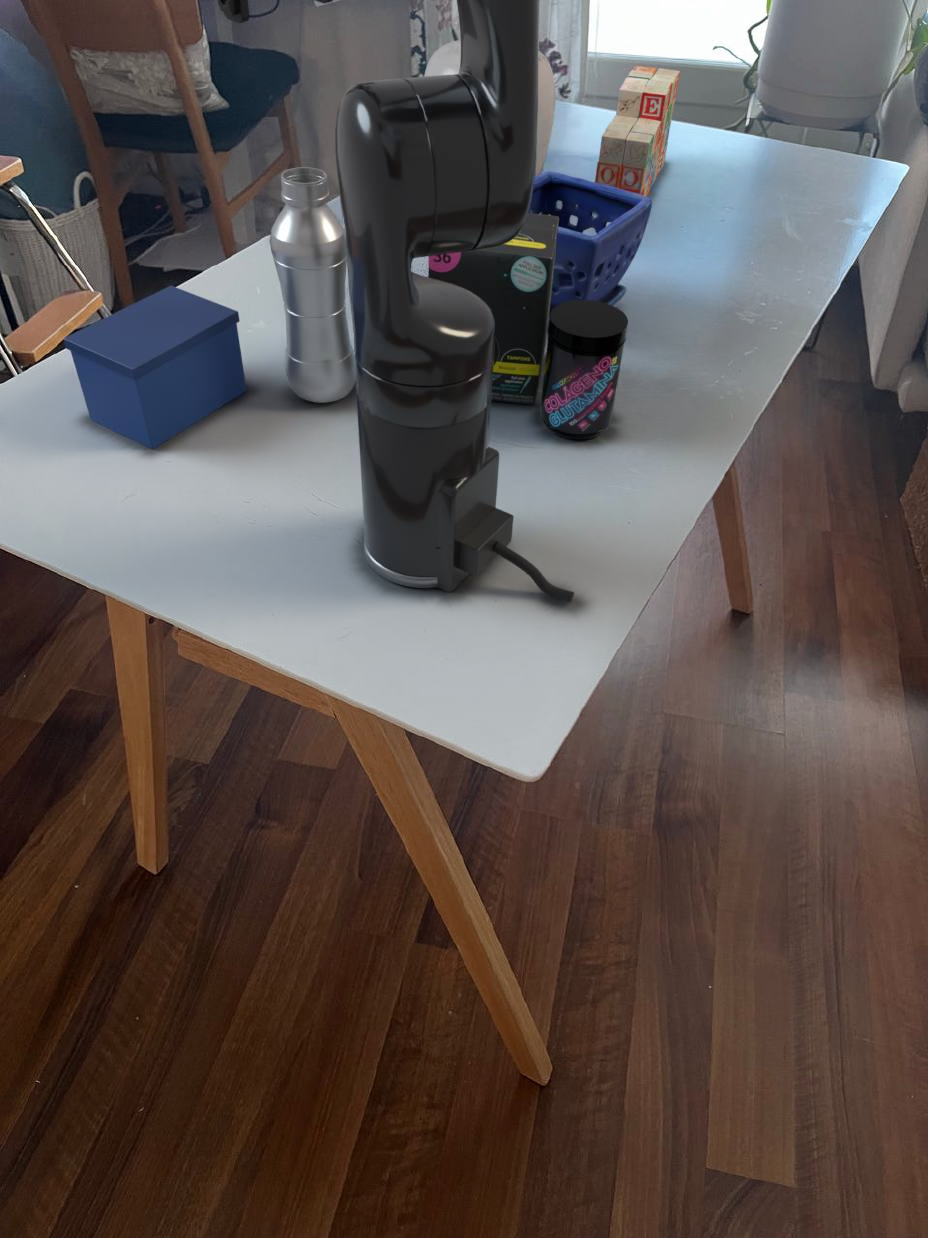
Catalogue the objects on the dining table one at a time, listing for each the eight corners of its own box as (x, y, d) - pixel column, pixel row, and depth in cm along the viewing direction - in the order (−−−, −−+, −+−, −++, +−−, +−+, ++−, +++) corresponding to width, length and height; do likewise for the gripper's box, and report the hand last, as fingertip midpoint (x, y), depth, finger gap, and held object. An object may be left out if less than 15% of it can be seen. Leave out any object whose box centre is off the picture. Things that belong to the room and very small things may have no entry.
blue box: (250, 390, 89) (238, 311, 83) (152, 451, 82) (132, 368, 76) (186, 363, 92) (171, 284, 86) (87, 419, 85) (62, 338, 79)
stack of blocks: (637, 218, 121) (654, 115, 112) (590, 211, 122) (603, 108, 114) (664, 163, 136) (681, 68, 127) (622, 157, 137) (635, 62, 128)
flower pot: (582, 354, 96) (598, 239, 88) (474, 317, 101) (479, 205, 92) (638, 306, 104) (657, 196, 96) (534, 273, 109) (544, 166, 100)
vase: (542, 197, 125) (560, -3, 109) (547, 248, 114) (567, 33, 98) (424, 192, 125) (424, -9, 109) (417, 242, 114) (417, 26, 98)
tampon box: (424, 394, 90) (424, 243, 79) (439, 347, 96) (442, 202, 86) (538, 407, 89) (553, 256, 78) (545, 358, 95) (561, 212, 85)
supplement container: (524, 424, 87) (534, 319, 79) (563, 394, 90) (576, 292, 83) (585, 451, 84) (602, 345, 76) (624, 419, 88) (643, 316, 80)
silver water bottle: (347, 415, 87) (332, 194, 72) (277, 405, 87) (249, 185, 73) (366, 380, 91) (356, 165, 77) (299, 371, 92) (277, 156, 78)
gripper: (205, -271, 55) (239, 40, 67) (377, -275, 63) (380, 5, 75) (129, -285, 58) (175, 15, 70) (301, -288, 66) (316, -17, 78)
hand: (280, 9), depth 72 cm, fingers open, 8 cm apart
